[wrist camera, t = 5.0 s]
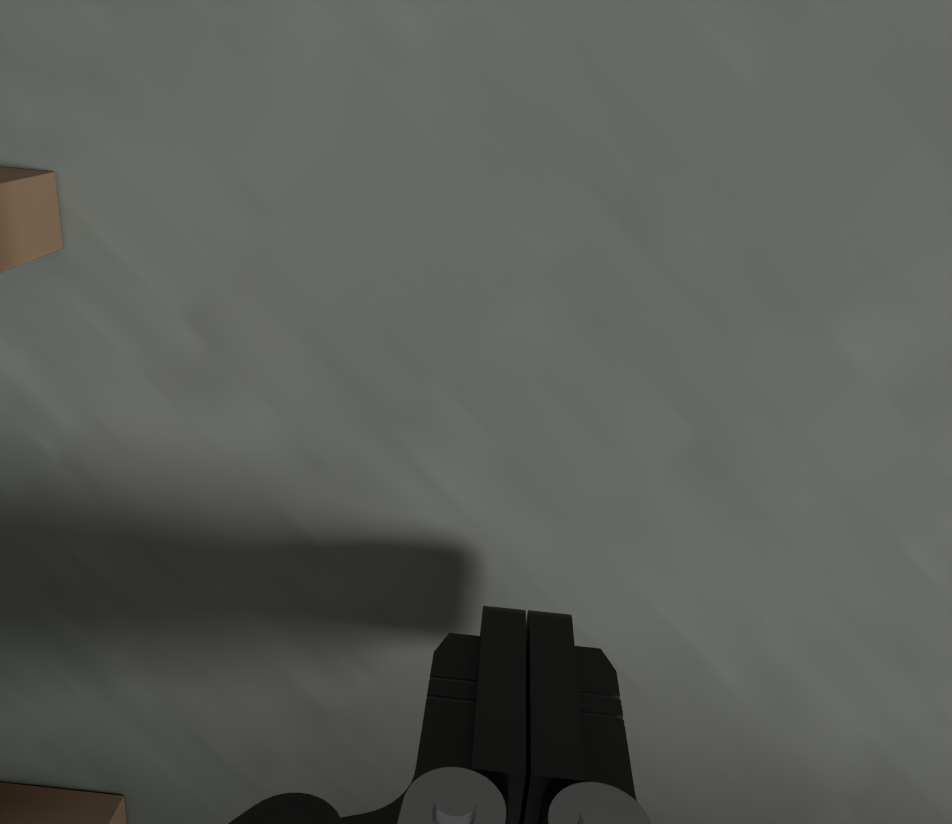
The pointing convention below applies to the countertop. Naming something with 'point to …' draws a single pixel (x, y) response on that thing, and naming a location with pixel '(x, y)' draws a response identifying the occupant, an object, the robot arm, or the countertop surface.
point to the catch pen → (3, 247)
